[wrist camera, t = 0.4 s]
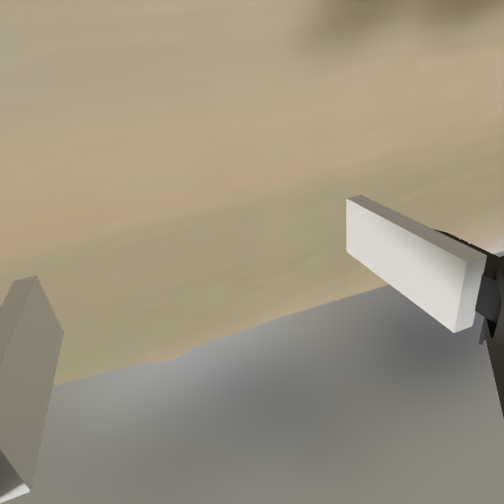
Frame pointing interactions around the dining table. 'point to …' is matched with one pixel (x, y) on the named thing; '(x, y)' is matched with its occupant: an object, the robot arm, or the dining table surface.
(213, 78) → the dining table surface
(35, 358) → the robot arm
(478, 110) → the dining table surface
